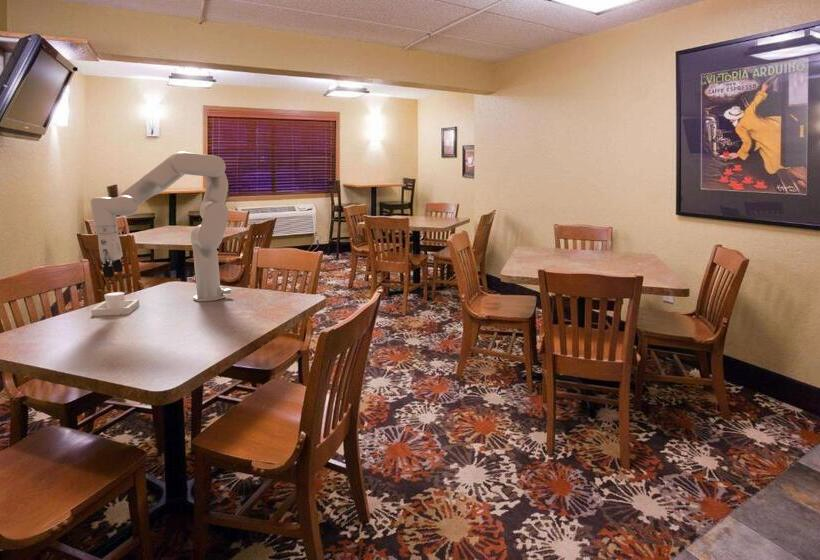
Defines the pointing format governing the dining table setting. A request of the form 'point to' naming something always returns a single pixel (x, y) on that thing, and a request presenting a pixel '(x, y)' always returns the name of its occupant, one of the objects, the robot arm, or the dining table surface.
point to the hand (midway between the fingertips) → (113, 274)
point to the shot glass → (115, 299)
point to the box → (103, 309)
